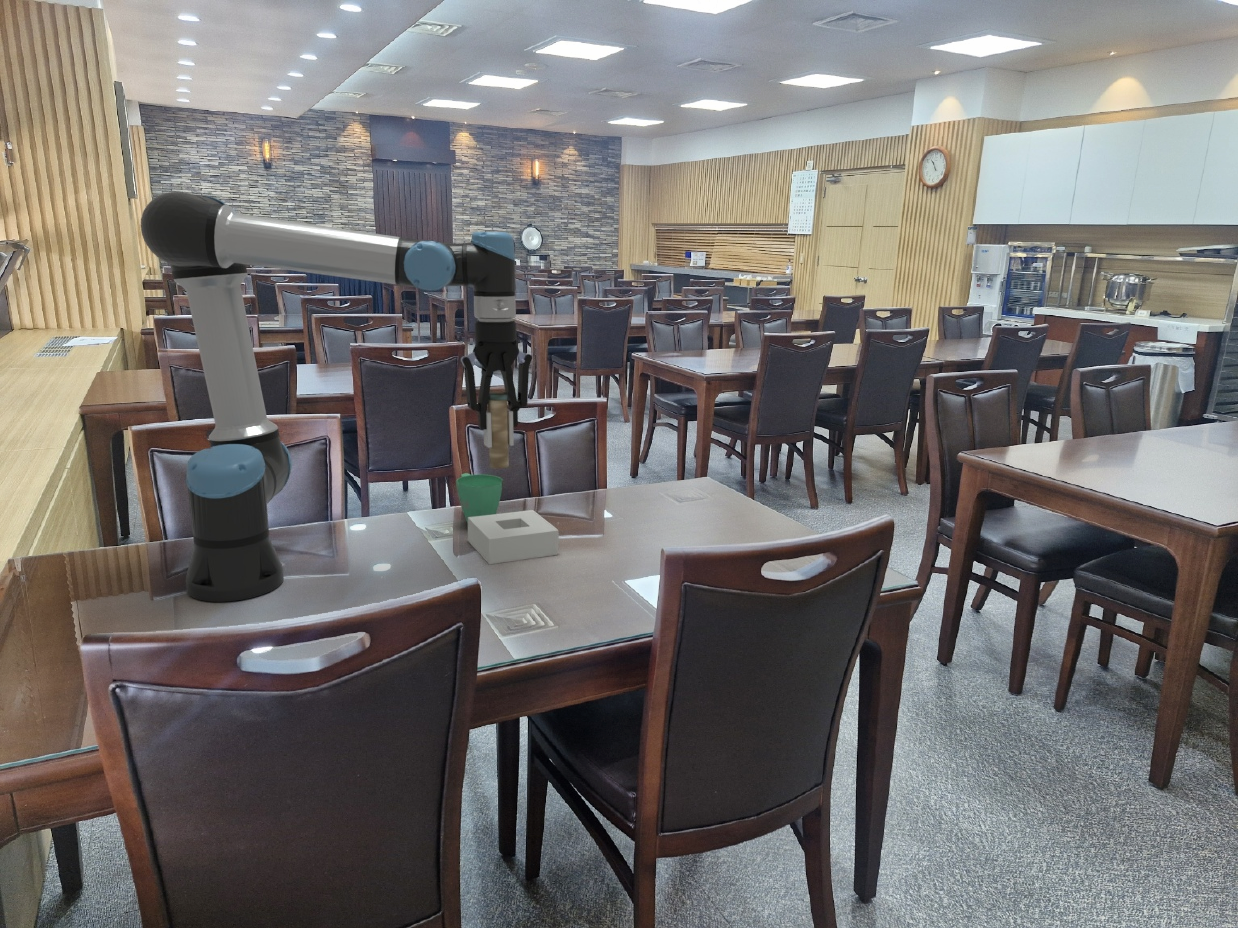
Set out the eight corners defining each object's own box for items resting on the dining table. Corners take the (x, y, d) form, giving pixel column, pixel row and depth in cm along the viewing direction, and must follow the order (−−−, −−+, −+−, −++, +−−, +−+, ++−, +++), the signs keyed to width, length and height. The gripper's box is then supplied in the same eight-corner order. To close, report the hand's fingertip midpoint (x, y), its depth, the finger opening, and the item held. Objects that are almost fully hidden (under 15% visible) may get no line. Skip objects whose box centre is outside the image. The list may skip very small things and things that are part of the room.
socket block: (489, 564, 153) (489, 539, 151) (467, 540, 165) (467, 517, 163) (558, 554, 159) (558, 530, 158) (532, 532, 171) (532, 509, 170)
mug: (510, 528, 173) (510, 483, 171) (467, 535, 168) (466, 489, 165) (483, 509, 185) (483, 467, 182) (442, 515, 180) (441, 472, 177)
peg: (492, 469, 152) (490, 395, 149) (487, 464, 155) (484, 392, 152) (511, 467, 154) (509, 394, 150) (505, 463, 157) (503, 391, 153)
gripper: (455, 322, 141) (460, 453, 147) (545, 320, 148) (547, 445, 154) (445, 319, 148) (450, 444, 153) (531, 317, 155) (533, 437, 160)
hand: (498, 444), depth 154 cm, fingers closed on peg, 3 cm apart
